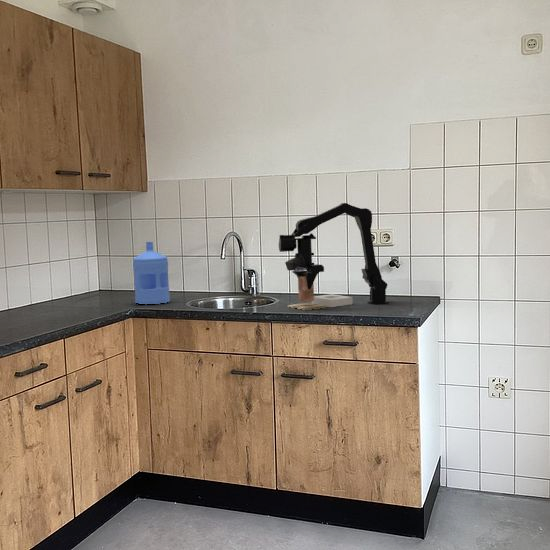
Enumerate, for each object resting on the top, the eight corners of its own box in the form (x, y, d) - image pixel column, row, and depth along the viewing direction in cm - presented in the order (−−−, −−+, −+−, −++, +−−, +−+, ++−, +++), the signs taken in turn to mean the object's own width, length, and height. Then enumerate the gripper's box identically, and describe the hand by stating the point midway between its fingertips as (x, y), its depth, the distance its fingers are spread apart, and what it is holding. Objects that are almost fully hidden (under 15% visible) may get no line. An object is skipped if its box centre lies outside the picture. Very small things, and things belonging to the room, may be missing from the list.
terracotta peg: (314, 300, 271) (313, 276, 270) (305, 301, 268) (304, 277, 267) (307, 299, 274) (306, 275, 273) (298, 300, 272) (297, 276, 271)
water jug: (129, 303, 305) (126, 242, 302) (160, 299, 314) (157, 240, 311) (144, 306, 292) (140, 243, 289) (176, 302, 302) (172, 241, 299)
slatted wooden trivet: (325, 307, 269) (325, 305, 269) (305, 310, 264) (305, 308, 263) (307, 304, 280) (307, 302, 280) (287, 307, 275) (287, 305, 274)
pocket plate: (352, 304, 275) (352, 297, 275) (331, 307, 270) (331, 299, 269) (332, 301, 287) (332, 294, 287) (311, 303, 281) (311, 296, 281)
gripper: (275, 251, 273) (277, 288, 275) (301, 252, 257) (302, 292, 259) (298, 249, 279) (299, 286, 280) (324, 250, 263) (325, 289, 265)
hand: (306, 288), depth 271 cm, fingers closed on terracotta peg, 4 cm apart
